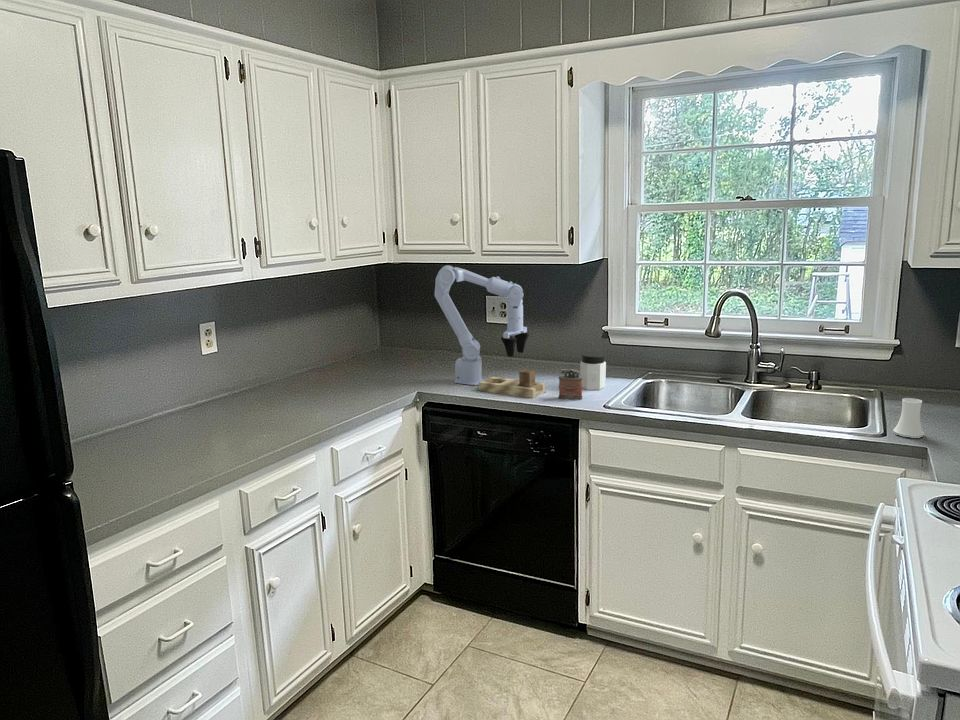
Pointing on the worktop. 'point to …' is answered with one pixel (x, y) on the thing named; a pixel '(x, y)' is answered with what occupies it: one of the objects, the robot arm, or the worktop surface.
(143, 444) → the worktop surface
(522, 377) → the peg
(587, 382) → the jar
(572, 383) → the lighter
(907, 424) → the white flared vase
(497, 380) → the wooden tray with recesses
